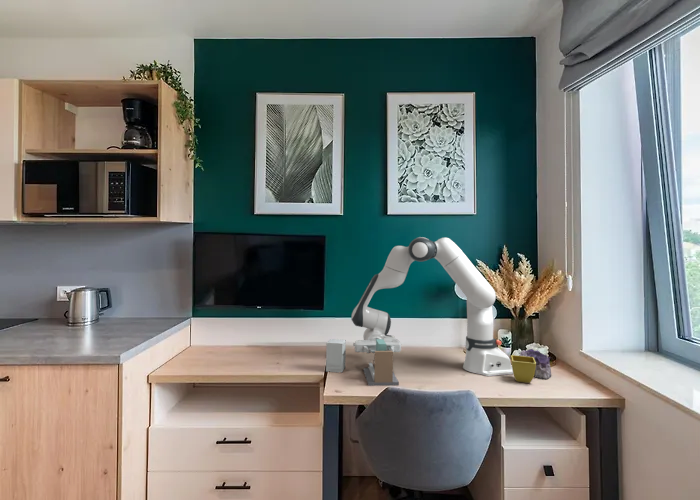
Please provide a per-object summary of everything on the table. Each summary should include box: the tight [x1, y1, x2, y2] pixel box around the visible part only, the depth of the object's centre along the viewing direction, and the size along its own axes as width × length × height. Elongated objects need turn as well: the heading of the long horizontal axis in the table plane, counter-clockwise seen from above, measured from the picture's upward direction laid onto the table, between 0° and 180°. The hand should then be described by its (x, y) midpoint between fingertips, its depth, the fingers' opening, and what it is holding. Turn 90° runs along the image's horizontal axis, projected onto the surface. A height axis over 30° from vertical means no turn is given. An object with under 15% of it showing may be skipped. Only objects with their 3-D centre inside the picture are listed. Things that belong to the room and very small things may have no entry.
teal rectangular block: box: [376, 339, 386, 351], centre depth 160 cm, size 3×8×14 cm, turn 4°
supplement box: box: [325, 338, 347, 373], centre depth 170 cm, size 7×7×13 cm
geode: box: [518, 348, 552, 381], centre depth 170 cm, size 20×12×10 cm, turn 175°
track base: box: [363, 351, 400, 387], centre depth 161 cm, size 12×18×13 cm, turn 4°
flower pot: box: [510, 354, 536, 384], centre depth 159 cm, size 9×9×9 cm
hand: (380, 351), depth 162 cm, fingers open, 8 cm apart
